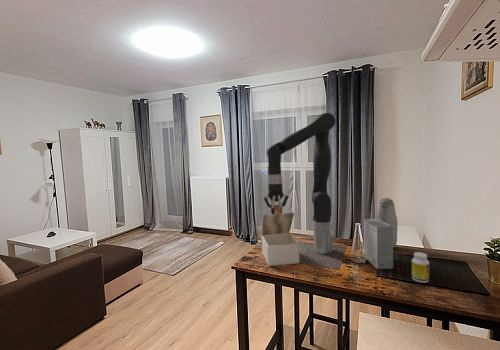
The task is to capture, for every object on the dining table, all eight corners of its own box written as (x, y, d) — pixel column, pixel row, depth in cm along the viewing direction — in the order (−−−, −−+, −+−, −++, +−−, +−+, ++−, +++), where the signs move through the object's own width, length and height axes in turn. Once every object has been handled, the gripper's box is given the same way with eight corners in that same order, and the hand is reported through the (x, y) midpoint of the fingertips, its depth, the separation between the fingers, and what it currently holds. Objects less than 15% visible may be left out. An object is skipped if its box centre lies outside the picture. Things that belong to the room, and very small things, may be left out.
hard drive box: (393, 269, 120) (393, 227, 118) (377, 269, 120) (376, 227, 118) (378, 255, 135) (377, 218, 134) (363, 256, 136) (362, 218, 134)
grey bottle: (375, 244, 151) (375, 196, 148) (395, 245, 147) (395, 196, 145) (377, 250, 141) (377, 200, 139) (399, 252, 138) (399, 200, 135)
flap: (289, 232, 148) (286, 223, 153) (294, 213, 136) (291, 203, 140) (261, 235, 147) (259, 225, 151) (263, 215, 134) (261, 206, 139)
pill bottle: (429, 284, 105) (429, 258, 104) (411, 281, 109) (411, 255, 108) (428, 277, 111) (429, 252, 110) (411, 274, 114) (411, 250, 113)
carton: (289, 249, 149) (289, 232, 148) (299, 262, 132) (298, 243, 131) (262, 252, 148) (261, 235, 147) (268, 266, 130) (267, 246, 129)
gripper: (286, 181, 144) (287, 212, 145) (261, 183, 143) (262, 214, 144) (289, 182, 137) (291, 214, 138) (263, 184, 135) (265, 217, 136)
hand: (276, 214), depth 141 cm, fingers closed on flap, 3 cm apart
